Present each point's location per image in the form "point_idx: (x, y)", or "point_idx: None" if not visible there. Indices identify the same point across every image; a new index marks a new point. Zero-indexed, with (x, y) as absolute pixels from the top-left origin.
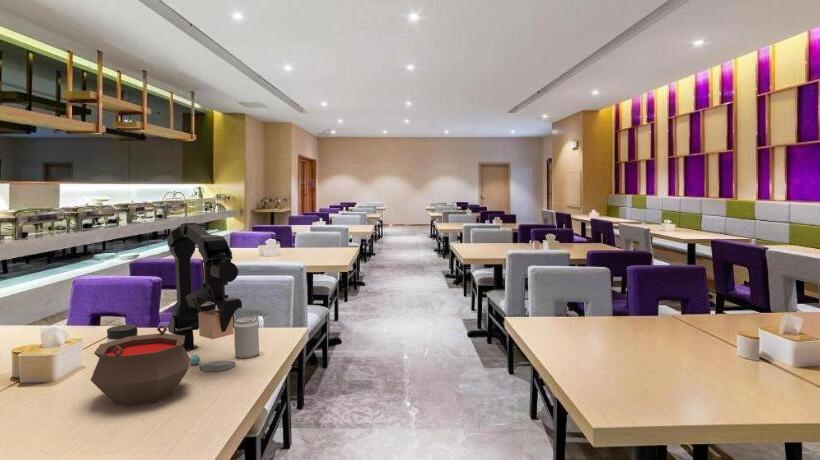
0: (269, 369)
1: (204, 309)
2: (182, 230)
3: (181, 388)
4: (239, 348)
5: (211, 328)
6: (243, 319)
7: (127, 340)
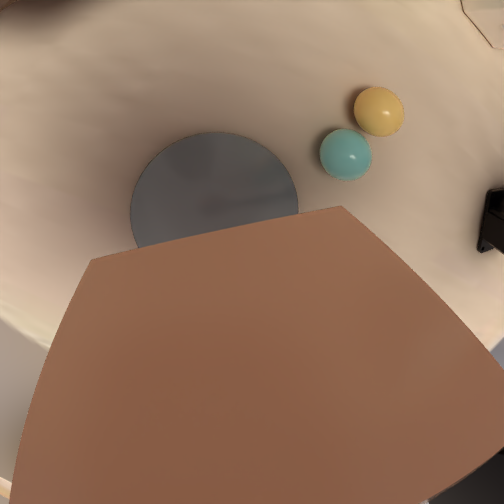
0: None
1: (497, 478)
2: None
3: (36, 3)
4: None
5: (75, 336)
6: None
7: None
